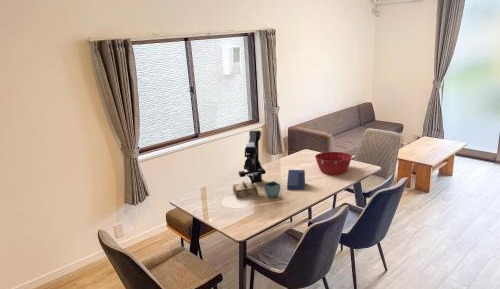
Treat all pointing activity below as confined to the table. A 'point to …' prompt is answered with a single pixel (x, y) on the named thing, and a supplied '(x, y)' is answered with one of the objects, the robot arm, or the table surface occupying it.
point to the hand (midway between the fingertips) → (252, 183)
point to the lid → (244, 186)
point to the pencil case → (245, 192)
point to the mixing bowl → (333, 162)
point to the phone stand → (296, 180)
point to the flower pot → (272, 189)
